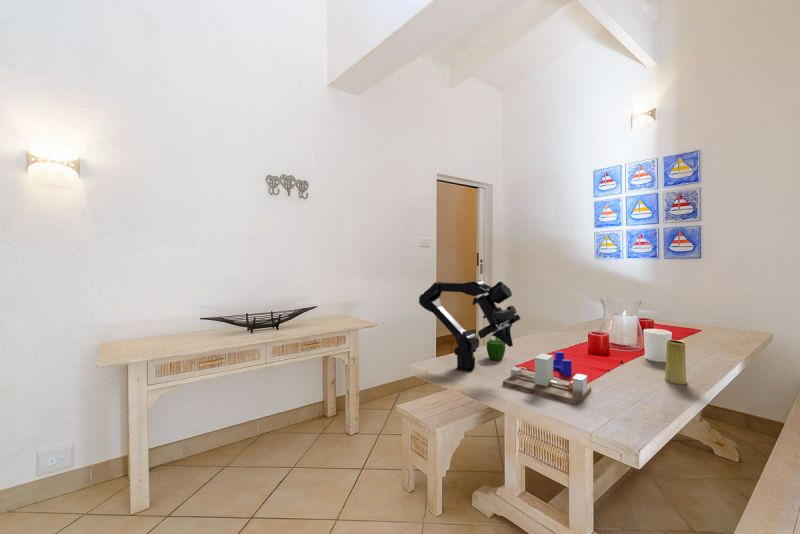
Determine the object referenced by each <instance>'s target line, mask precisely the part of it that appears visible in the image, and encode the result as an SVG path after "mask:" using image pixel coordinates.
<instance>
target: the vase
mask: <svg viewBox="0 0 800 534" xmlns="http://www.w3.org/2000/svg"><path fill="white" fill-rule="evenodd" d="M686 362H687V361H686V342H685V341H682V340H679V339H678V340H677V339H671V340H667V353H666V362H665V371H664V372H665V373H664V374H665V375H664V380H665V381H666V382H668V383H670V384H675V385H685V384H687V370H686V369H687V367H686V365H687V364H686Z"/></svg>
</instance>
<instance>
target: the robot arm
mask: <svg viewBox="0 0 800 534" xmlns="http://www.w3.org/2000/svg"><path fill="white" fill-rule="evenodd" d="M443 292H452V293H453V292H454V293H463V294H465V295H469V296H472V297H474V298H473V301H472V304H471V305H472V306H474V305H478V306H479V308H480V310H481V312H482V313H483V316H482V318H483V319H486V320H487V322H488V323H489V324H488V325H486V326H484V327H483V328H481V329H479V330H478V334H476V333H474V331H473V330H472V329H470V328H469V329H468V330H466V329H464V328H463V327H462V326H461V325H460V324H459V322H458V321H456V319H454V317H453V316H452V315H451V314H450V313H449V312H448V311H447V310H446V308H444V307H443V306H442V303H441V300H440V297H441V296H442V294H443ZM512 295H513V293H512V291H511V289H510V288H509V287H508V286H507V285H506V284H504V282H503V281H498V282H497V283H495V284H494V285H493V286H490V285H488V284H487V283H486V282H485V281H484V280H482V279H481V280H475V281H468V282H449V281H448V282H447V281H446V282H445V281H436V282H434V283H433V284H431V286H430V287H429V288H427V290H425V291H424V292H423V293H422V294H420V295H419V297H418V303H419V305H420V306H421V307H422V308H423V309H425V310H427V311H428V312H431V313H432V314H433V315H434V316H435V317H436V318H437V319H438V320H439V321H440V322H441V323H442V324H443V325H444V327H446V328H447V330H448V331H449V332H450V333H451V334H452V335H453V336H454V338H455V342H456V345H457V346H456V347H455V348H454V349H453V352H454V355H455V356H456V359H457V360H456V363H457V364H456V365H457V367H456V368H455V370H457V371H465V372H473V370H474V369H475V368H476V356H475V355H474V353H476V352H477V349H478V348H479V346H480V340H481V339H483V338H486V337H487V336H488V335H490V334H491V333H492V334H491V336H492V337H494V338H495V339H496V338H498V340H501V341H502V342H504V343H505V345H506V346H507V347H510V348H511V347H512V346H513V347H514V345H513V339H512V334H511V330H512V329H511V328H512V326H513V324H515V323H516V322H518V321H520V320H521V319H522V318H521V317H520V315H519V314H517V309H516V308H515V306H514V305H509V306H507V307H506V309H504V310H503V308H502V307H500V306H499V307H498V306H497V305H496V304H498V305H499V304H501V303H503V302H504V301H506V300H508V299H509V298H511V297H512ZM476 296H479V297H476ZM478 337H479V338H478Z"/></svg>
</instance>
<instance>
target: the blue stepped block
mask: <svg viewBox="0 0 800 534" xmlns="http://www.w3.org/2000/svg"><path fill="white" fill-rule="evenodd" d="M558 370H559V373H560V372H561V373H560V374H561V375H562V376H563V375H564V376H563V377H572V360H571V359H565V353H564V351H555V352H554V358H553V371H558ZM565 375H566V376H565Z"/></svg>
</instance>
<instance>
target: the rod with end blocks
mask: <svg viewBox="0 0 800 534" xmlns="http://www.w3.org/2000/svg"><path fill="white" fill-rule="evenodd" d="M521 371H522V368H521V367H517V366H514V367H512V368H510V376H511V378H515V379H518V378H519V377H523V378H528V379H532V380H535V377H534V376H530V375H525V374H521ZM549 384H553V385H557V386H562V387H566V388H568V390H569V391H573V393H574V394H578V395H582V396H583V395H584V394H585V392H586V391H587V386H588V375H586V374H582V373H576V374H575V375H574V376H573V377H572V379H571V380H570V381H569V384H565V383H560V382H556V381H552V380H549Z"/></svg>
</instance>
